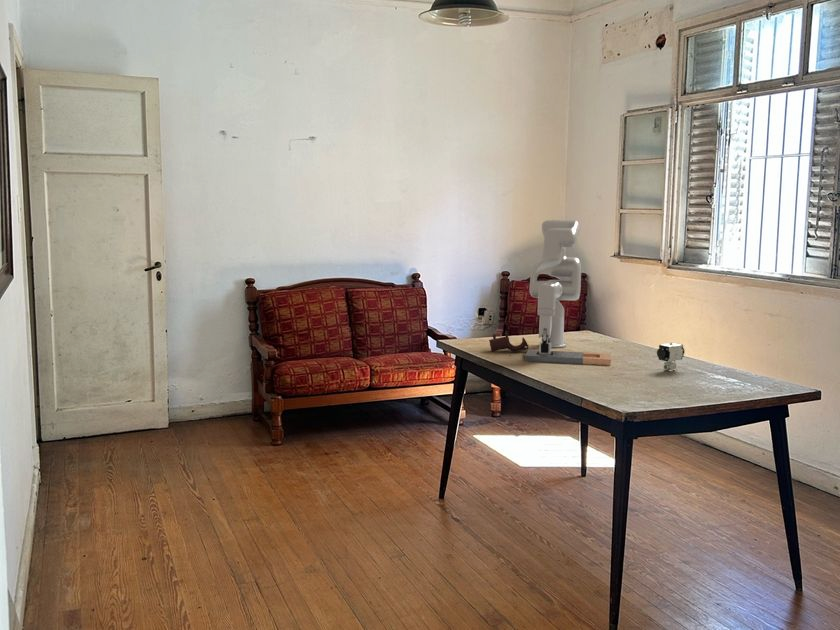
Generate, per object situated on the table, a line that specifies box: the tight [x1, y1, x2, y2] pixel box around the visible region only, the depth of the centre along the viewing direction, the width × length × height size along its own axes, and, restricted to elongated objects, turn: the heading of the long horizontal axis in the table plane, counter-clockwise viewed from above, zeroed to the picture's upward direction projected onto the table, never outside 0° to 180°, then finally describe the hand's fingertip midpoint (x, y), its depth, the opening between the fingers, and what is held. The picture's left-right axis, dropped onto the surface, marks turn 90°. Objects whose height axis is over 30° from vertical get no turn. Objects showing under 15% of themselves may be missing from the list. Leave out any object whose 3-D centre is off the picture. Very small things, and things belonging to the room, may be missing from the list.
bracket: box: [489, 329, 529, 353], centre depth 371 cm, size 6×17×10 cm, turn 88°
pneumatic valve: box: [656, 341, 685, 371], centre depth 331 cm, size 6×12×12 cm, turn 122°
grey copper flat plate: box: [524, 349, 612, 366], centre depth 352 cm, size 14×36×2 cm, turn 78°
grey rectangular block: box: [538, 341, 552, 355], centre depth 354 cm, size 5×5×7 cm
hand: (545, 350), depth 354 cm, fingers open, 8 cm apart
